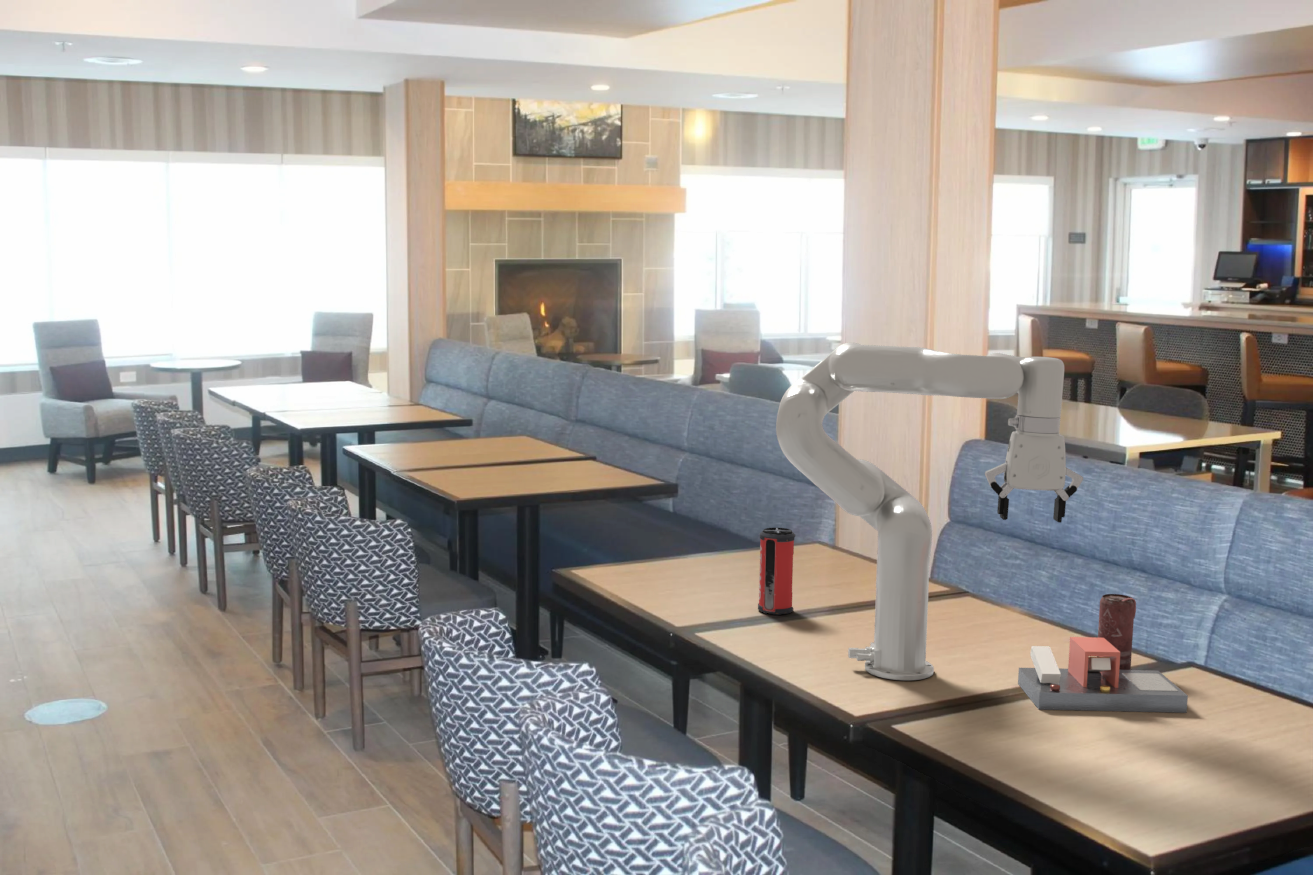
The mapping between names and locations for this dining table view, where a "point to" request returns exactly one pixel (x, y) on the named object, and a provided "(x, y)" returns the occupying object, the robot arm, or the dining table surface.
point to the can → (1118, 624)
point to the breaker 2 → (1098, 664)
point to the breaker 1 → (1045, 664)
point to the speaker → (776, 571)
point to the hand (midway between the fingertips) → (1030, 519)
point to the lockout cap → (1092, 647)
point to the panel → (1105, 692)
